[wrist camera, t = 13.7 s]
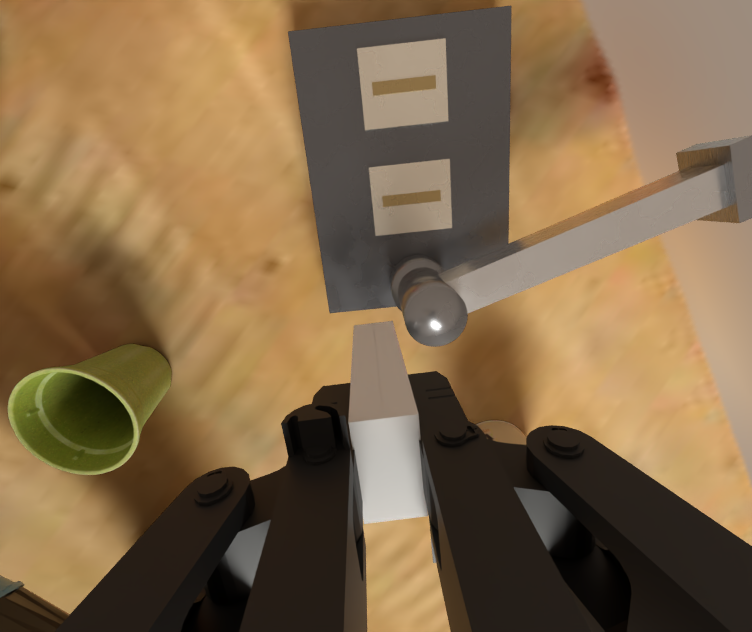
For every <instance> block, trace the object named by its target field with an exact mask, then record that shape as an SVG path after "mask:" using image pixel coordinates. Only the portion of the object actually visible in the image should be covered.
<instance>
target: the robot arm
mask: <svg viewBox="0 0 752 632" xmlns="http://www.w3.org/2000/svg"><path fill="white" fill-rule="evenodd" d="M281 425H282V429H283V434H284V438H285V443H286V447H287V452H288V461H287V464H286V466H285V467H283V468H281V469H280V470H278V471H275V472H273V473H271V474H268V475H265V476H262V477H260V478H257V479H254V480H251V481H250V478H249V474H248V473H247V472H246V471H245V470H244V469H241V468H237V467H225V468H219V469H216V470H213V471H210V472H208V473H206V474H204V475H202V476H201V477H199V478H197V479H195V480H194V481H193V482H192V483H191V484H190V485H188V486H187V487H186V488H185V489H184V490H183V491H182V492H181V493H180V495H179V496H178V497H177V498H176V499H175V500H174V501H173V502H172V503H171V504H170V505H169V507H168V508H167V509H166V510H165V511H164V512H163V513H162V514H161V515H160V516H159V518H158V519H157V520H156V521H155V522H154V523H153V524H152V525H151V526H150V527H149V529H148V530H147V531H146V532H145V533H144V534H143V535H142V536H141V537H140V538H139V540H138V541H137V542H136V543H135V544H134V545H133V546H132V547H131V548H130V549H129V550H128V552H127V553H126V554H125V555H124V556H123V557H122V558H121V559H120V560H119V561H118V563H117V564H116V565H115V566H114V567H113V568H112V569H111V570H110V571H109V572H108V574H107V575H106V576H105V577H104V578H103V579H102V580H101V581H100V582H99V583H98V584H97V586H96V587H95V588H94V589H93V590H92V591H91V592H90V593H89V594H88V595H87V597H86V598H85V599H84V600H83V601H82V602H81V603H80V604H79V605H78V606H77V608H76V609H75V610H74V611H73V612H72V613H71V614H68V613H67V612H65V611H63V610H61V609H60V608H58V607H56V606H54V605H53V604H51V603H49V602H48V601H46V600H44V599H42V598H41V597H39V596H37V595H36V594H34V593H32V592H30V591H29V590H27V589H25V588H23V586H24V584H23V583H22V582H21V581H17V582H13V581H11V580H9V579H7V578H5V577H2V576H0V632H367V594H366V544H365V538H364V531H363V520H364V524H367V523H375V522H383V521H391V520H400V519H408V518H416V517H424V516H428V514H429V521H430V532H431V543H432V554H433V563H437V568H438V572H439V577H440V582H441V587H442V592H443V596H444V601H445V606H446V611H447V615H448V620H449V625H450V630H451V632H752V546H751V545H749V544H748V543H746V542H745V541H743V540H742V539H740V538H739V537H737V536H736V535H734V534H733V533H732V532H730V531H729V530H727V529H726V528H724V527H723V526H721V525H720V524H718V523H717V522H715V521H714V520H712V519H711V518H710V517H708V516H707V515H705V514H704V513H702V512H701V511H699V510H698V509H696V508H695V507H693V506H692V505H690V504H689V503H688V502H686V501H685V500H683V499H682V498H680V497H679V496H677V495H676V494H674V493H673V492H671V491H670V490H668V489H667V488H666V487H664V486H663V485H661V484H660V483H658V482H657V481H655V480H654V479H652V478H651V477H649V476H648V475H646V474H645V473H643V472H642V471H641V470H639V469H638V468H636V467H635V466H633V465H632V464H630V463H629V462H627V461H626V460H624V459H623V458H621V457H620V456H619V455H617V454H616V453H614V452H613V451H611V450H610V449H608V448H607V447H605V446H604V445H602V444H601V443H599V442H598V441H597V440H595V439H594V438H592V437H591V436H589V435H587V434H585V433H583V432H581V431H579V430H576V429H572V428H569V427H565V426H552V425H551V426H544V427H539V428H537V429H535V430H533V431H531V432H530V433H529V435H528V436H527V438H526V445H522V444H511V443H503V442H497V441H494V440H491V439H487V437H486V435H485V434H484V432H483V431H482V430H481V429H480V428H479V427H478V426H477V425H475V424H473V423H471V422H469V421H468V420H467V418H466V416H465V414H464V412H463V410H462V408H461V406H460V404H459V402H458V400H457V398H456V396H455V394H454V392H453V390H452V389H451V386H450V384H449V382H448V380H447V378H446V377H444V376H443V375H441V374H440V373H438V372H437V371H434V372H426V373H418V374H410V375H407V371H406V367H405V364H404V360H403V357H402V353H401V349H400V346H399V342H398V339H397V335H396V332H395V328H394V324H393V321H388V322H379V323H371V324H363V325H355V326H354V332H353V349H352V367H351V383H346V384H338V385H330V386H323V387H322V388H321V389H320V390H319V391H318V392H317V393H316V394H315V395H314V398H313V402H312V404H309V405H305V406H303V407H300V408H298V409H296V410H294V411H293V412H291V413H290V414H288V415H287V416H286V417H285V419H284V420H283V421H282V423H281ZM427 510H428V512H427Z"/></svg>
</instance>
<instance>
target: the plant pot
mask: <svg viewBox="0 0 752 632" xmlns="http://www.w3.org/2000/svg"><path fill="white" fill-rule="evenodd" d="M171 374H172V371H171V368H170V365H169V363H168V362H167V360H166V359H165V358H164V357H163V356H162V355H161V354H160V353H159V352H157V351H156V350H155V349H153V348H151V347H146V346H141V345H136V344H126V345H123V346H120V347H118V348H115V349H113V350H110V351H108V352H105V353H103V354H100V355H98V356H95V357H93V358H90V359H88V360H85V361H83V362H80V363H77V364H75V365H69V366H63V367H50V368H45V369H41V370H38V371H36V372H33V373H31V374H29V375H28V376H26V377H24V378H23V379H22V380H21V381H19V382H18V383H17V385H16V386H15V387H14V389H13V390H12V393H11V395H10V398H9V401H8V418H9V421H10V424H11V427H12V428H13V430H14V432H15V435H16V436H17V438H18V439H19V441H20V442H21V443H22V444H23V446H24V447H25V448H26V449H27V450H29V451H30V452H31V453H32V454H33V455H34V456H35V457H37V458H38V459H39V460H41V461H43V462H45V463H46V464H48V465H50V466H52V467H54V468H56V469H59V470H62V471H66V472H69V473H74V474H81V475H95V474H102V473H106V472H110V471H112V470H114V469H116V468H118V467H120V466H121V465H123V464H124V463H125V462H126V461H127V460H128V459H129V458H130V457H131V456H132V454H133V453H134V451H135V450H136V448H137V445H138V443H139V439H140V434H141V431H142V428H143V426H144V424H145V423H146V421H147V420H148V418H149V417H150V415H151V414H152V412H153V411H154V409H155V408H156V407H157V405H158V404H159V402H160V401H161V400H162V398H163V397H164V395H165V394H166V392H167V391H168V389H169V388H170V386H171Z"/></svg>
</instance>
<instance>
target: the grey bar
mask: <svg viewBox="0 0 752 632" xmlns="http://www.w3.org/2000/svg"><path fill="white" fill-rule="evenodd" d="M676 155H677V161H678V167H679V171H677V172H675V173H673V174H671V175H668V176H666V177H663V178H661V179H659V180H657V181H654V182H652V183H649V184H647V185H645V186H642V187H640V188H638V189H635V190H633V191H631V192H628V193H626V194H624V195H621V196H619V197H617V198H614V199H612V200H610V201H607V202H605V203H603V204H600V205H598V206H596V207H593V208H591V209H589V210H586V211H584V212H582V213H579V214H577V215H575V216H572V217H570V218H568V219H565V220H563V221H561V222H558V223H556V224H554V225H551V226H549V227H547V228H544V229H542V230H540V231H537V232H535V233H533V234H530V235H528V236H526V237H523V238H521V239H519V240H516V241H514V242H512V243H509V244H507V245H505V246H502V247H500V248H498V249H495V250H493V251H491V252H488V253H486V254H484V255H481V256H479V257H477V258H474V259H472V260H470V261H467V262H465V263H463V264H460V265H458V266H456V267H453V268H451V269H449V270H446V271H444V272H442V273H438V272H437V271H436V270H434V269H431V268H427V267H420V268H416V269H413V270H411V271H409V272H408V273H407V274H406V275H405V276H404V277H403V278H402V279H401V281H400V283H399V287H398V298H399V302H400V305H401V309H402V313H403V317H404V320H405V324H406V327H407V330H408V332H409V334H410V335H411V336H412V337H413V338H414V339H415V340H416V341H417V342H419V343H421V344H423V345H427V346H435V347H436V346H443V345H446V344H448V343H450V342H452V341H454V340H455V339H456V338H458V336H459V335H460V334H461V333H462V332H463V330H464V328H465V326H466V323H467V317H468V313H470V312H473V311H475V310H478V309H480V308H482V307H485V306H487V305H490V304H492V303H495V302H497V301H499V300H502V299H504V298H507V297H509V296H512V295H514V294H517V293H519V292H521V291H524V290H526V289H529V288H531V287H534V286H536V285H538V284H541V283H543V282H546V281H548V280H551V279H553V278H555V277H558V276H560V275H563V274H565V273H568V272H570V271H572V270H575V269H577V268H580V267H582V266H585V265H587V264H589V263H592V262H594V261H597V260H599V259H602V258H604V257H606V256H609V255H611V254H614V253H616V252H619V251H621V250H623V249H626V248H628V247H631V246H633V245H636V244H638V243H641V242H643V241H645V240H648V239H650V238H653V237H655V236H658V235H660V234H662V233H665V232H667V231H669V230H672V229H674V228H677V227H679V226H682V225H684V224H686V223H689V222H692V221H694V220H704V221H718V222H731V223H741V222H744V221H746V220H748V219H751V218H752V136H746V137H740V138H733V139H727V140H721V141H714V142H708V143H702V144H696V145H694V146H691V147H689V148H687V149H684V150H682V151H680V152H677V153H676Z"/></svg>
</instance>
